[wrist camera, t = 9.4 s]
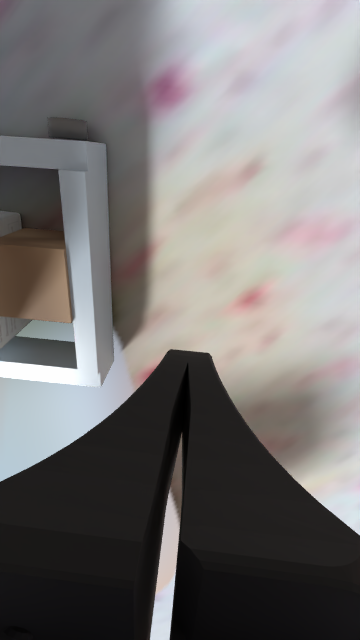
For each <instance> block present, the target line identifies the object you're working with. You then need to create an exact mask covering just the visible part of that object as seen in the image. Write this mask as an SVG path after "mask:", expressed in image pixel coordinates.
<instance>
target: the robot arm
mask: <svg viewBox="0 0 360 640" xmlns="http://www.w3.org/2000/svg"><path fill="white" fill-rule="evenodd" d="M181 434H182V507H181V521H180V532H179V543H178V554H177V565H176V576H175V587H174V598H173V609H172V620H171V631H170V640H360V535H358V534H357V533H356V532H355V531H353V530H352V529H351V528H350V527H349V526H347V525H346V524H345V523H344V522H342V521H341V520H340V519H339V518H338V517H336V516H335V515H334V514H333V513H332V512H330V511H329V510H328V509H327V508H325V507H324V506H323V505H322V504H321V503H319V502H318V501H317V500H316V499H315V498H314V497H313V496H312V495H311V494H310V493H308V492H307V491H306V490H305V489H304V488H303V487H302V486H301V485H300V484H299V483H298V482H297V481H296V480H295V479H294V478H293V477H292V476H291V475H290V474H289V473H288V472H287V471H286V470H285V469H284V468H283V467H282V466H281V465H280V464H279V463H278V462H277V461H276V459H275V458H274V457H273V456H272V455H271V454H270V453H269V452H268V450H267V449H266V448H265V447H264V446H263V444H262V443H261V442H260V441H259V440H258V438H257V437H256V436H255V434H254V433H253V432H252V431H251V429H250V428H249V426H248V425H247V424H246V422H245V421H244V419H243V418H242V416H241V415H240V413H239V412H238V410H237V408H236V407H235V405H234V404H233V402H232V400H231V399H230V397H229V395H228V393H227V391H226V389H225V388H224V386H223V384H222V382H221V380H220V378H219V375H218V373H217V371H216V368H215V366H214V363H213V360H212V356H211V355H210V354H209V353H203V352H193V351H182V350H172V349H171V350H169V351H168V352H167V353H166V355H165V356H164V358H163V359H162V361H161V362H160V364H159V365H158V366H157V367H156V369H155V370H154V371H153V372H152V374H151V375H150V376H149V377H148V378H147V379H146V381H145V382H144V383H143V384H142V385H141V386H140V387H139V388H138V389H137V390H136V391H135V392H134V393H133V394H132V395H131V396H130V397H129V398H128V399H127V400H126V401H125V402H124V403H123V404H122V405H121V406H120V407H119V408H118V409H116V410H115V411H114V412H113V413H112V414H111V415H109V416H108V417H107V418H106V419H104V420H103V421H102V422H101V423H99V424H98V425H97V426H95V427H94V428H93V429H91V430H90V431H88V432H87V433H86V434H84V435H83V436H82V437H80V438H79V439H77V440H76V441H74V442H73V443H71V444H70V445H68V446H66V447H65V448H63V449H61V450H60V451H58V452H56V453H55V454H53V455H51V456H50V457H48V458H46V459H44V460H42V461H41V462H39V463H37V464H35V465H33V466H31V467H29V468H28V469H26V470H23V471H21V472H20V473H17V474H15V475H13V476H11V477H9V478H7V479H5V480H3V481H1V482H0V640H150V633H151V625H152V616H153V608H154V600H155V592H156V583H157V575H158V567H159V559H160V551H161V543H162V535H163V527H164V518H165V510H166V505H167V499H168V494H169V489H170V485H171V480H172V475H173V471H174V466H175V461H176V457H177V452H178V448H179V443H180V438H181Z"/></svg>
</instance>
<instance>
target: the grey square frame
mask: <svg viewBox="0 0 360 640" xmlns="http://www.w3.org/2000/svg"><path fill="white" fill-rule="evenodd" d="M47 120H48V130H49V137H51V138H61V139H74V140H60V139H45V138H30V137H15V136H0V165H4V166H19V167H33V168H47V169H61V170H58V173H59V183H60V193H61V203H62V214H63V224H64V234H65V245H66V255H67V265H68V275H69V286H70V296H71V306H72V316H73V326H74V337H75V342H68V341H58V340H48V339H38V338H28V337H17V336H14V337H13V338H12V339H11V340H10V341H9V342H8V343H7V344H6V345H5V346H3V347H2V348H1V349H0V377H7V378H16V379H26V380H35V381H45V382H55V383H65V384H74V385H83V386H92V387H101V386H102V384H103V382H104V380H105V378H106V376H107V374H108V372H109V370H110V368H111V366H112V364H113V362H114V349H113V321H112V294H111V267H110V239H109V212H108V185H107V158H106V144H104V143H96V142H89V141H76V140H88V138H87V121H84V120H77V119H68V118H52V117H51V118H47Z"/></svg>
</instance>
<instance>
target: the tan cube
mask: <svg viewBox="0 0 360 640" xmlns="http://www.w3.org/2000/svg"><path fill="white" fill-rule="evenodd" d="M0 316H1V317H11V318H22V319H32V320H43V321H54V322H64V323H72V321H73V316H72V306H71V296H70V286H69V275H68V265H67V255H66V245H65V234H64V231H58V230H46V229H33V228H23V229H20V230H18V231H15V232H12V233H10V234H7V235H4V236H2V237H0Z"/></svg>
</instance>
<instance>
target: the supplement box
mask: <svg viewBox="0 0 360 640" xmlns="http://www.w3.org/2000/svg"><path fill="white" fill-rule="evenodd" d="M20 229H22V225H21V217H20V214H19V213H15V212H6V211H0V237H2V236H4V235H7V234H10V233H12V232H15V231H18V230H20ZM31 321H32V319H22V318H11V317H1V316H0V349H1V348H2V347H3V346H5V345H6V344H7V343H8V342H9V341H10V340H11V339H12V338H13V337H14V336H15V335H16V334H18V333H19V332H20V331H21V330H22V329H23V328H24V327H25V326H26V325H27V324H28V323H29V322H31Z"/></svg>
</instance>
